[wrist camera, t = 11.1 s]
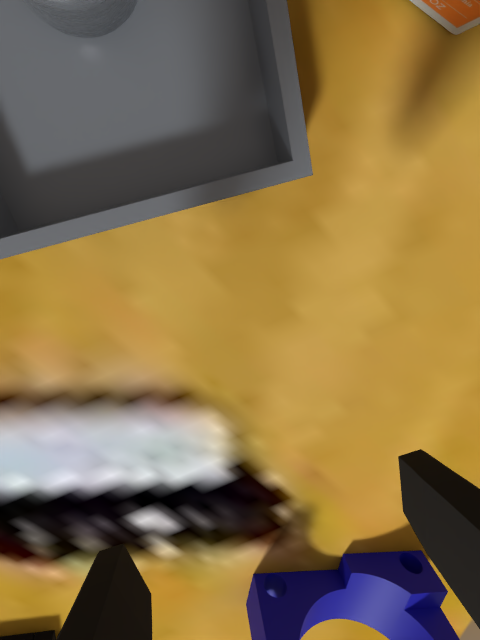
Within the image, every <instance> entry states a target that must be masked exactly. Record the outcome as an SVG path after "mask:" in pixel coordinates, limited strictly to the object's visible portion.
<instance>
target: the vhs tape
mask: <svg viewBox="0 0 480 640" xmlns="http://www.w3.org/2000/svg"><path fill="white" fill-rule="evenodd" d="M0 640H56V637H55V630H52V631H44V632H36V633H35V635H34V633H27V634H19V635H10V636H2V637H0Z"/></svg>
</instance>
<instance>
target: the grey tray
mask: <svg viewBox="0 0 480 640" xmlns="http://www.w3.org/2000/svg"><path fill="white" fill-rule="evenodd" d="M311 175H313V173H312V166H311V159H310V153H309V146H308V139H307V133H306V126H305V119H304V113H303V106H302V99H301V93H300V86H299V79H298V73H297V66H296V59H295V53H294V46H293V39H292V33H291V26H290V19H289V13H288V6H287V0H138V2H137V4H136V6H135V8H134V10H133V12H132V13H131V15H130V16H129V18H128V19H127V20H126V21H125V22H124V23H123V24H122V25H121V26H120V27H118V28H117V29H116V30H114V31H112V32H110V33H109V34H106V35H103V36H99V37H93V38H83V37H76V36H72V35H69V34H66V33H63V32H61V31H59V30H57V29H55V28H53V27H52V26H50V25H48V24H47V23H46V22H44V21H43V20H42V19H41V18H40V17H38V16H37V15H36V14H35V13H34V12H33V11H32V10H31V8H30V7H29V6H28V5H27V4H26V3H25V2H24V0H0V259H3V258H6V257H10V256H14V255H18V254H21V253H25V252H29V251H32V250H36V249H40V248H43V247H47V246H51V245H55V244H58V243H62V242H66V241H69V240H73V239H77V238H81V237H84V236H88V235H92V234H95V233H99V232H103V231H107V230H110V229H114V228H118V227H121V226H125V225H129V224H133V223H136V222H140V221H144V220H147V219H151V218H155V217H159V216H162V215H166V214H170V213H173V212H177V211H181V210H185V209H188V208H192V207H196V206H199V205H203V204H207V203H211V202H214V201H218V200H222V199H225V198H229V197H233V196H236V195H240V194H244V193H248V192H251V191H255V190H259V189H262V188H266V187H270V186H274V185H277V184H281V183H285V182H288V181H292V180H296V179H300V178H303V177H307V176H311Z"/></svg>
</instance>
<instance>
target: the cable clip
mask: <svg viewBox="0 0 480 640" xmlns="http://www.w3.org/2000/svg"><path fill="white" fill-rule="evenodd" d="M447 592H448V591H447V589H446V588H445V586H444V585H443V583H442V582H441V580H440V579H439V577H438V576H437V574H436V572H435V571H434V569H433V568H432V566H431V565H430V563H429V562H428V560H427V559H426V557H425V555H424V554H423V552H422V551H398V552H376V553H353V554H343V556H342V559H341V562H340V565H339V568H338V569H336V570H317V571H298V572H280V573H261V574H253V578H252V582H251V586H250V591H249V595H248V599H247V603H246V606H247V612H248V618H249V625H250V631H251V637H252V640H300V639H301V638H302V636H303V635H304V634H305V633H306V632H307V631H308V630H309V629H310V628H311V627H313V626H314V625H316V624H318V623H320V622H322V621H325V620H329V619H349V620H354V621H357V622H360V623H363V624H366V625H368V626H370V627H372V628H374V629H375V630H377V631H379V632H380V633H382V634H383V635H385V636H386V637H387V638H389V639H390V640H460V639H459V638H458V636H457V634H456V633H455V631H454V629H453V628H452V626H451V624H450V623H449V621H448V620H447V618H446V616H445V615H444V613H443V611H442V610H441V608H440V606H441V604H442V602H443V600H444V598H445V596H446V594H447Z"/></svg>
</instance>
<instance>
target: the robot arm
mask: <svg viewBox="0 0 480 640" xmlns="http://www.w3.org/2000/svg"><path fill="white" fill-rule="evenodd" d="M398 457H399V469H400V480H401V491H402V503H403V512H404V514H405V516H406V517H407V519H408V521H409V523H410V525H411V526H412V528H413V530H414V532H415V534H416V535H417V537H418V539H419V541H420V542H421V544H422V546H423V548H424V549H425V551H426V553H427V554H428V556H429V557H430V559H431V560H432V562H433V563H434V564H435V566H436V567H437V569H438V570H439V572H440V573H441V574H442V576H443V577H444V579H445V580H446V582H447V583H448V585H449V586H450V587H451V589H452V590H453V592H454V593H455V595H456V596H457V597H458V599H459V600H460V602H461V603H462V605H463V606H464V607H465V609H466V610H467V612H468V613H469V614H470V616H471V617H472V619H473V620H474V621H475V623H476V624H477V626H478V627H479V629H480V489H479V488H478V487H476V486H475V485H473V484H472V483H470V482H469V481H467V480H466V479H464V478H463V477H461V476H460V475H458V474H457V473H455V472H454V471H452V470H451V469H449V468H448V467H446V466H445V465H444V464H442V463H441V462H439V461H438V460H436V459H435V458H433V457H432V456H430V455H429V454H428V453H426V452H425V451H423V450H421V449H420V450H417V451H414V452H411V453H408V454H405V455H401V456H398ZM56 640H152V607H151V593H150V591H149V589H148V587H147V585H146V584H145V582H144V580H143V578H142V576H141V575H140V573H139V571H138V569H137V567H136V565H135V564H134V562H133V560H132V558H131V556H130V555H129V553H128V551H127V549H126V547H125V545H124V544H121V545H118V546H114V547H111V548H108V549H105V550H102V551H99V553H98V554H97V556H96V558H95V560H94V562H93V564H92V566H91V568H90V571H89V573H88V575H87V577H86V579H85V581H84V583H83V585H82V587H81V590H80V592H79V594H78V596H77V598H76V600H75V602H74V604H73V606H72V608H71V610H70V612H69V615H68V617H67V619H66V621H65V623H64V625H63V627H62V629H61V631H60V633H59V635H58V637H57V639H56Z"/></svg>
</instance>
